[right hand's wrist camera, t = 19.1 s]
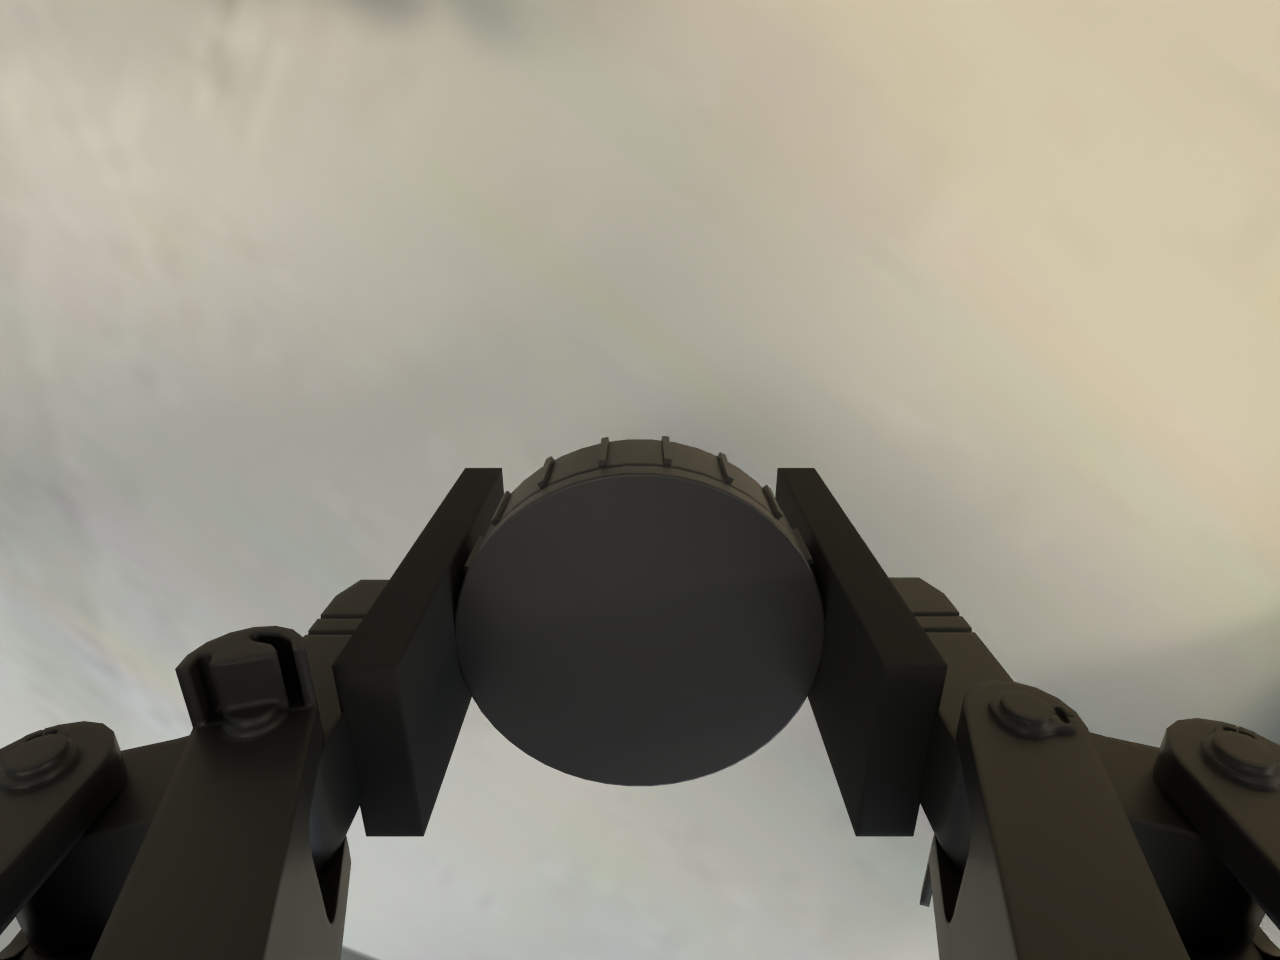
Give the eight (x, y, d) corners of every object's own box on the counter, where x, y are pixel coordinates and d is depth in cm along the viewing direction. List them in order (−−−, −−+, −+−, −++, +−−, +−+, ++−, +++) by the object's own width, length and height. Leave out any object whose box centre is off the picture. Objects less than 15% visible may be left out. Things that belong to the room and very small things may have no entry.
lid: (406, 605, 12) (373, 661, 11) (621, 357, 10) (618, 382, 9) (652, 772, 13) (654, 841, 12) (875, 577, 12) (910, 630, 10)
